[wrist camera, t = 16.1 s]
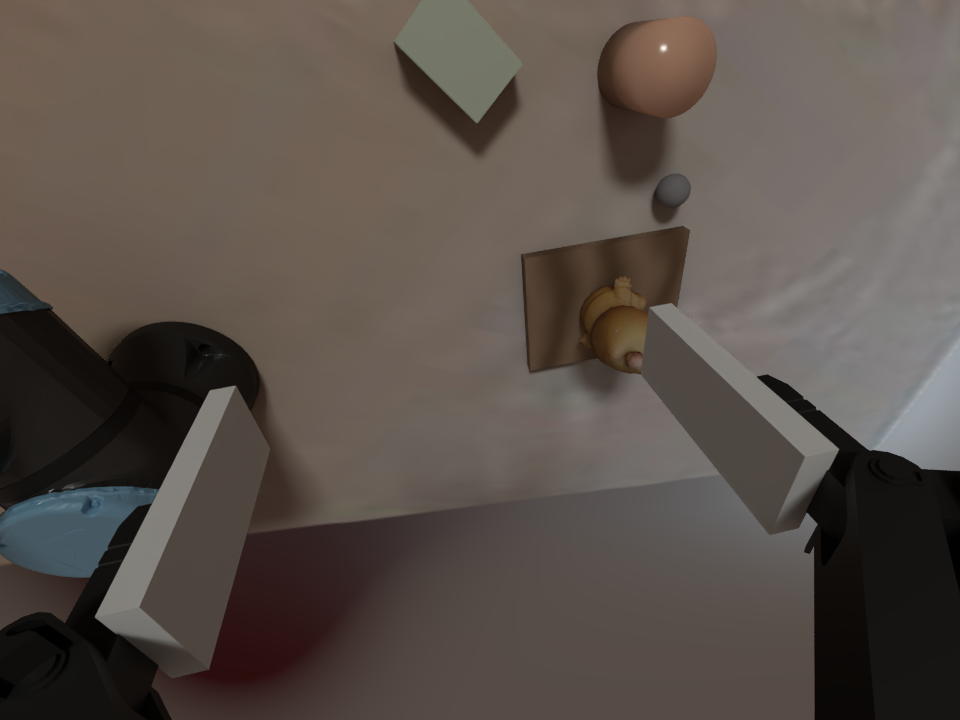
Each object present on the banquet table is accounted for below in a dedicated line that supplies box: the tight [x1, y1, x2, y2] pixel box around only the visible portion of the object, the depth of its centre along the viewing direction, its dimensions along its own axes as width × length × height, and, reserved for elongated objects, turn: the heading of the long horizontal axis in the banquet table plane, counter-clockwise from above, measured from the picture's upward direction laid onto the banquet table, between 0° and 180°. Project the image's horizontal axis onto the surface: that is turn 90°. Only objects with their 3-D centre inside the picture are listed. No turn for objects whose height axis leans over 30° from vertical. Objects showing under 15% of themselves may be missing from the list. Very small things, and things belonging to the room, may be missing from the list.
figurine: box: [579, 276, 648, 374], centre depth 51 cm, size 10×8×15 cm
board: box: [521, 226, 690, 371], centre depth 57 cm, size 20×16×2 cm
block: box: [393, 0, 523, 123], centre depth 39 cm, size 6×9×4 cm, turn 48°
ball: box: [656, 174, 691, 208], centre depth 49 cm, size 4×4×4 cm
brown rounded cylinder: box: [597, 16, 717, 118], centre depth 40 cm, size 7×7×8 cm
